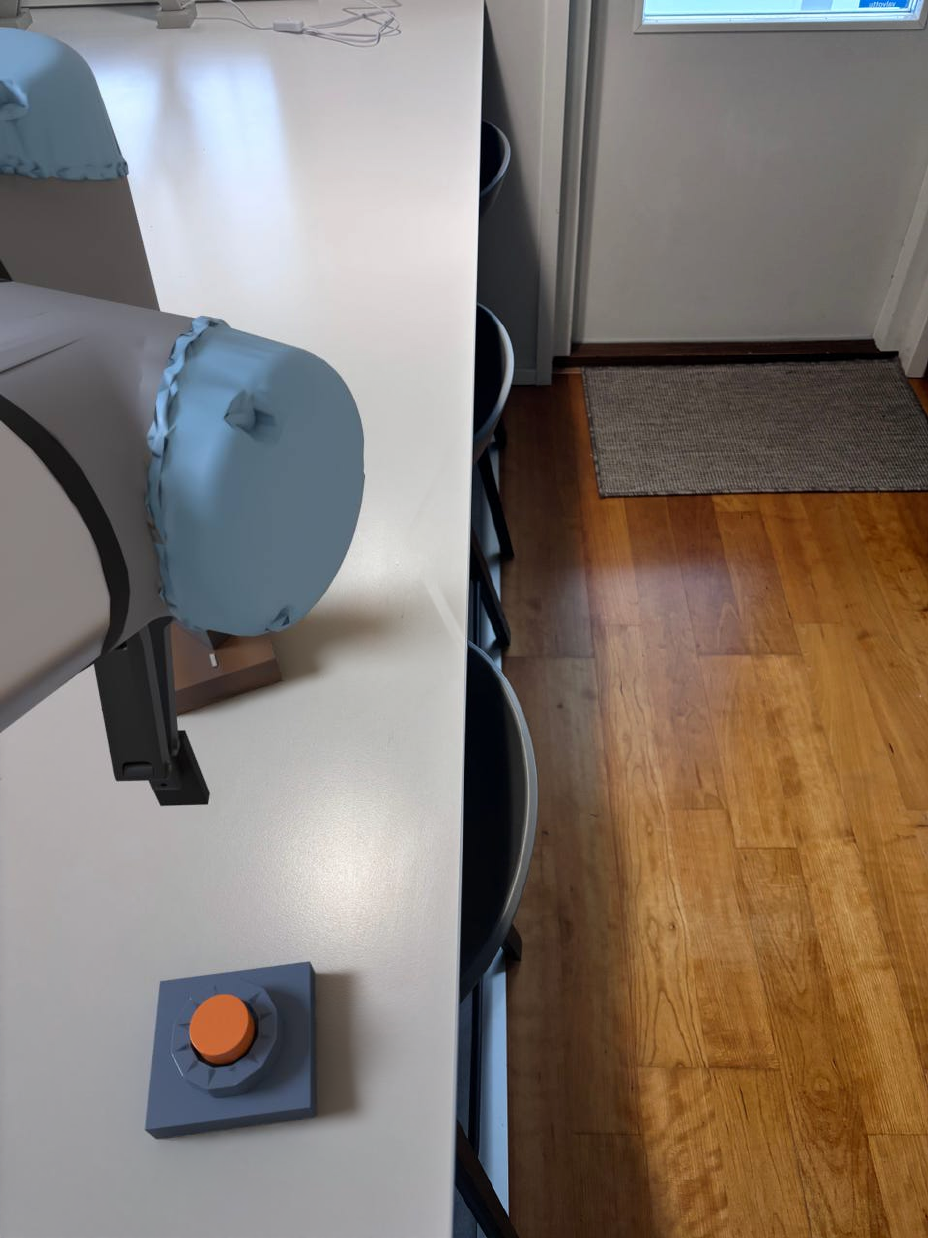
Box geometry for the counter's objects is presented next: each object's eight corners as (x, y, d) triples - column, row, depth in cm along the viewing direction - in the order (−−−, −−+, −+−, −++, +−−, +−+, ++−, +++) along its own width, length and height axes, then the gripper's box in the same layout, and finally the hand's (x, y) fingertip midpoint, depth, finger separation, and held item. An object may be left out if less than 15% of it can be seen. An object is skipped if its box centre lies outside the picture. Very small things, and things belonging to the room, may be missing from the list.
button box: (155, 1139, 58) (134, 1122, 55) (169, 993, 64) (151, 970, 61) (317, 1117, 59) (305, 1099, 56) (316, 973, 65) (305, 950, 62)
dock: (252, 587, 89) (245, 564, 87) (283, 679, 82) (276, 656, 79) (147, 620, 87) (136, 597, 85) (168, 718, 80) (157, 695, 77)
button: (194, 1068, 58) (186, 1059, 56) (199, 1008, 60) (191, 998, 59) (254, 1060, 58) (247, 1051, 56) (256, 1000, 60) (249, 990, 59)
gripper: (137, 642, 35) (239, 891, 51) (224, 280, 51) (280, 556, 67) (-70, 647, 35) (98, 895, 51) (83, 282, 51) (173, 559, 67)
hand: (202, 703), depth 59 cm, fingers open, 13 cm apart
